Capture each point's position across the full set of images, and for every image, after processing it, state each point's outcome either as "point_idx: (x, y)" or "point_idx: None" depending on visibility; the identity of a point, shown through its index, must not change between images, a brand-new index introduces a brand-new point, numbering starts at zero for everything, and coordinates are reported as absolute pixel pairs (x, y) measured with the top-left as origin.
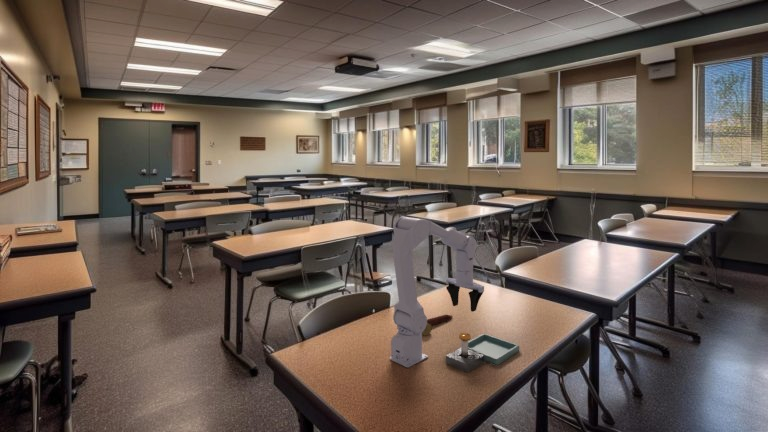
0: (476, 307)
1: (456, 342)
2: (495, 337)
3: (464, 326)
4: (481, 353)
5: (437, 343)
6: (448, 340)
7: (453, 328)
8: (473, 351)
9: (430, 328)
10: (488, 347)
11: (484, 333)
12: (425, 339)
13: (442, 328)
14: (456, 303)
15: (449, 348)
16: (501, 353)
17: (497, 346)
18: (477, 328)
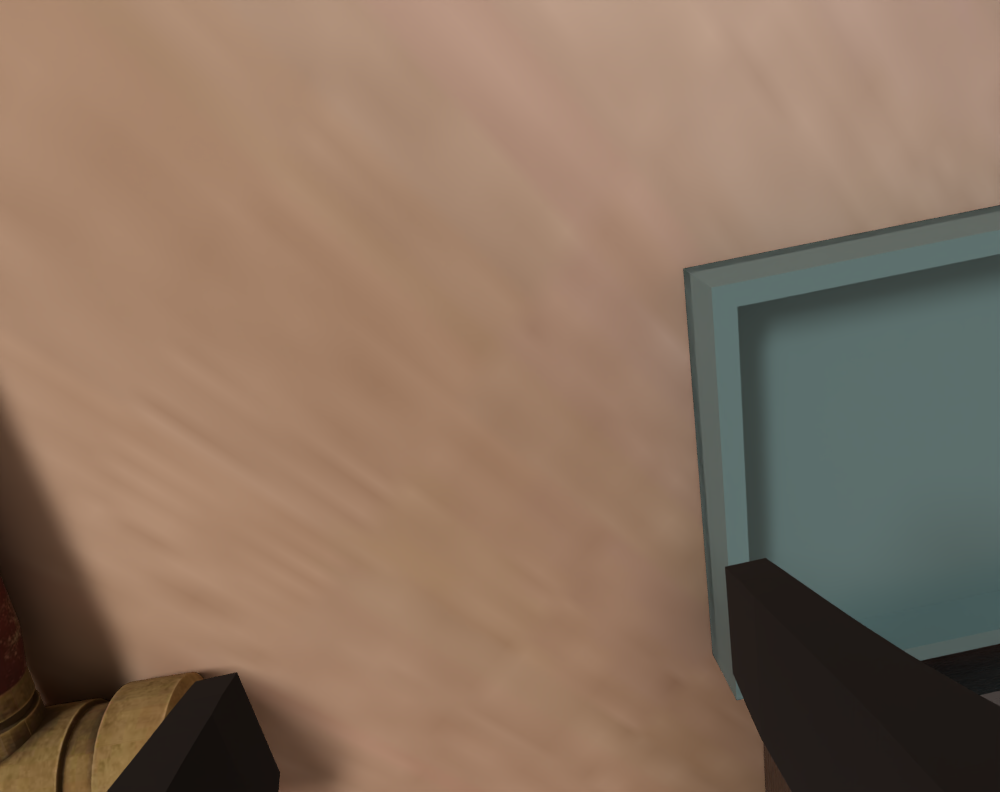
0: (814, 599)
1: (545, 575)
2: (900, 257)
3: (205, 186)
4: (983, 645)
5: (448, 722)
6: (457, 611)
7: (192, 368)
8: None
9: None
10: (886, 421)
11: (721, 287)
12: (305, 763)
13: (123, 483)
14: (241, 752)
15: (601, 693)
16: None
17: (948, 321)
18: (374, 69)
